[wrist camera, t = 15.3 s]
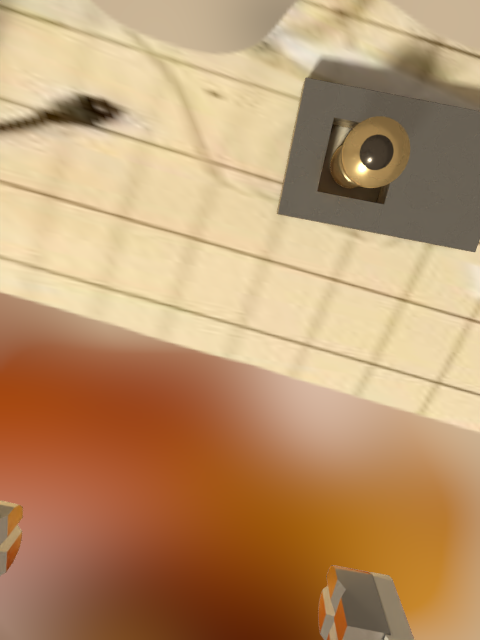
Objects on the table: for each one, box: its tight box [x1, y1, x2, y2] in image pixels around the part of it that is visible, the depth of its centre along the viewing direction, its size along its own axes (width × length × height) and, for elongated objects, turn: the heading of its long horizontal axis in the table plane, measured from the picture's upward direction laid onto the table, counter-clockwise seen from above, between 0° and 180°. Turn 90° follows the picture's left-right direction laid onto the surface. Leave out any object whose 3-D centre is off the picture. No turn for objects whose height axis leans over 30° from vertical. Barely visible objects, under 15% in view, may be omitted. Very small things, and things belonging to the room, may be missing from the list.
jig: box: [277, 78, 480, 252], centre depth 35 cm, size 18×11×2 cm, turn 79°
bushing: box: [330, 116, 410, 188], centre depth 33 cm, size 5×5×8 cm
